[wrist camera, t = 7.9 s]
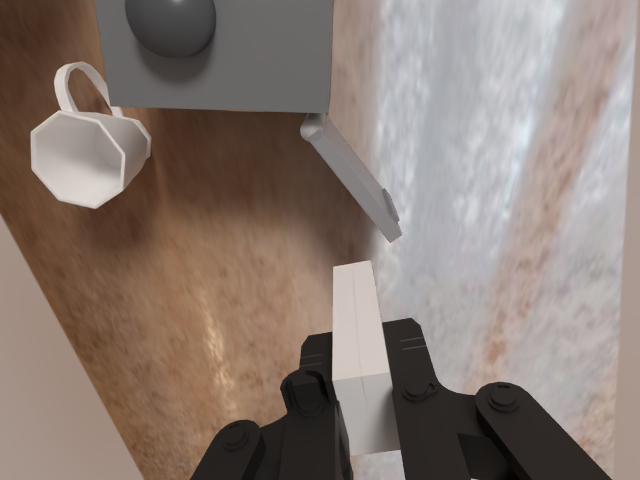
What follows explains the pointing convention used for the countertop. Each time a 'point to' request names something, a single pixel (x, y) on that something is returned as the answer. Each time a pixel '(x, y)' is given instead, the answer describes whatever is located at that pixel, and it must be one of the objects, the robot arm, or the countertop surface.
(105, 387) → the countertop surface
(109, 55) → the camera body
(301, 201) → the countertop surface
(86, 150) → the cup
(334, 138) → the door
